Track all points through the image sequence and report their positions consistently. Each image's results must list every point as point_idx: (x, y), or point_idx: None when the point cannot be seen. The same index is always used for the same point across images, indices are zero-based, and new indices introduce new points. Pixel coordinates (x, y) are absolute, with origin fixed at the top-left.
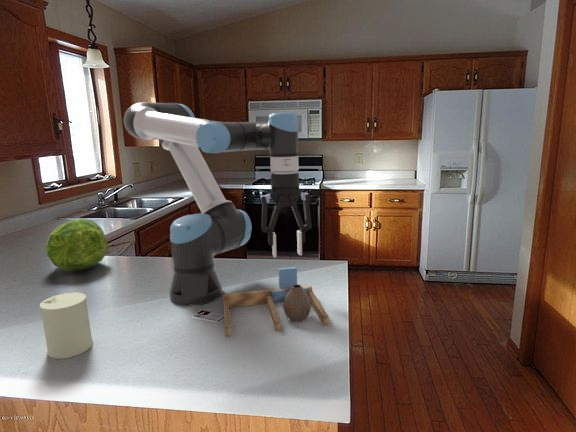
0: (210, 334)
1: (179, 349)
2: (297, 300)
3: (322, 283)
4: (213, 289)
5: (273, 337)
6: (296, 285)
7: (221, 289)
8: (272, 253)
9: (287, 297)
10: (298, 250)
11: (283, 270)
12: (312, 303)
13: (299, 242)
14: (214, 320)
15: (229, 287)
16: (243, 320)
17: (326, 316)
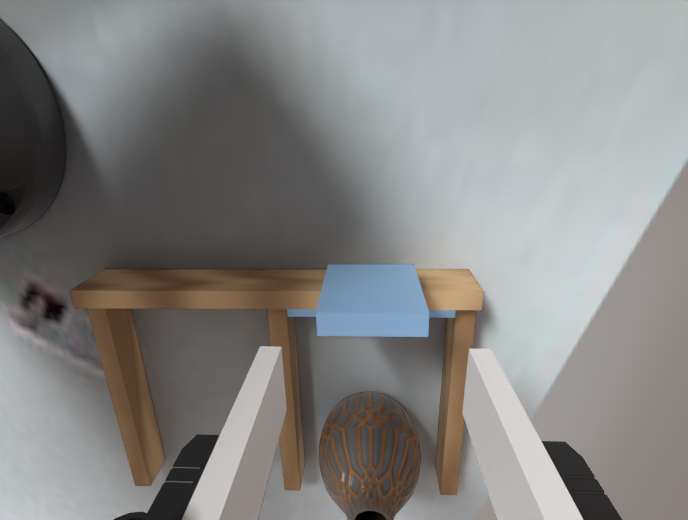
0: (106, 440)
1: (46, 484)
2: (363, 514)
3: (588, 113)
4: (7, 190)
5: (282, 488)
6: (374, 501)
7: (49, 143)
8: (257, 353)
9: (329, 493)
10: (473, 409)
11: (344, 332)
12: (446, 360)
13: (497, 509)
14: (96, 367)
15: (86, 51)
16: (192, 387)
17: (451, 493)
